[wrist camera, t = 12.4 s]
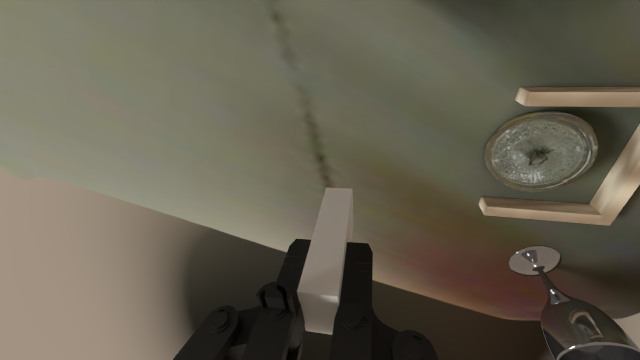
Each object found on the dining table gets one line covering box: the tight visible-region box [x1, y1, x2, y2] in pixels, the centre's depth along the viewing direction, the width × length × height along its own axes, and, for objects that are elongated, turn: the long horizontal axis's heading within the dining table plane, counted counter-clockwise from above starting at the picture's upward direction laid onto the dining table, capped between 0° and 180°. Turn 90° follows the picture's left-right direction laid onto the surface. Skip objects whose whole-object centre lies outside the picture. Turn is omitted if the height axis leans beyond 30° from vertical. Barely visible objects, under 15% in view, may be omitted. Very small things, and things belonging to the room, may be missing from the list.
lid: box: [484, 111, 599, 192], centre depth 31 cm, size 11×10×5 cm
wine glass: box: [509, 246, 640, 360], centre depth 35 cm, size 8×8×15 cm
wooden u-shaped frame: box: [479, 87, 640, 225], centre depth 31 cm, size 17×15×2 cm
